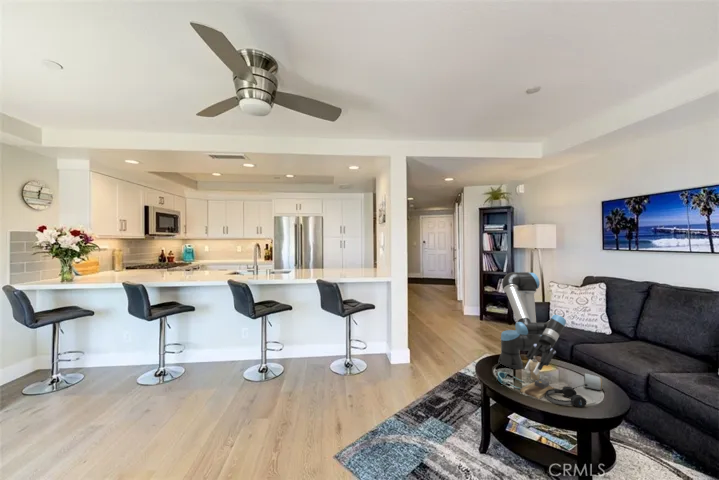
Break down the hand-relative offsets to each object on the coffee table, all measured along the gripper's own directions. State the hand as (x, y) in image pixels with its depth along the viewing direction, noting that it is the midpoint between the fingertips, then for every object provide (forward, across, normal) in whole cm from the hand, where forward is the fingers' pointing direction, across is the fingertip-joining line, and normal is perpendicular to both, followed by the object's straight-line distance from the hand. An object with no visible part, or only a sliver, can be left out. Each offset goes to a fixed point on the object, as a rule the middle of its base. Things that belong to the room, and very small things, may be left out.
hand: (530, 371), depth 166 cm
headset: (+1, -12, -18) cm, 21 cm away
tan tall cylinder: (0, 0, -6) cm, 6 cm away
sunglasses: (+7, +15, -11) cm, 20 cm away
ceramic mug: (-20, -8, -39) cm, 44 cm away
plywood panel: (+3, +2, -14) cm, 15 cm away
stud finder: (-2, +3, -17) cm, 17 cm away
